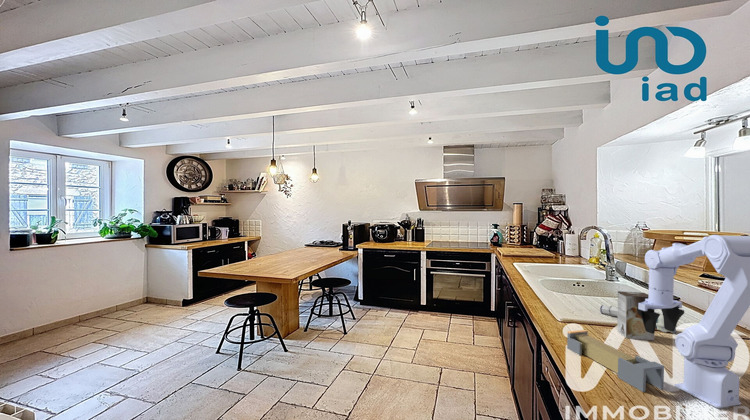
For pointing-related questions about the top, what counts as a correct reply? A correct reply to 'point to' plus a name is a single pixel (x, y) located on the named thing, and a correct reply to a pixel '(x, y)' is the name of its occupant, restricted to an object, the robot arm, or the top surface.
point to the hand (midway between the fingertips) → (659, 331)
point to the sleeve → (641, 373)
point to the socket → (575, 341)
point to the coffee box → (631, 316)
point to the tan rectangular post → (602, 352)
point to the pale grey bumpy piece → (614, 312)
